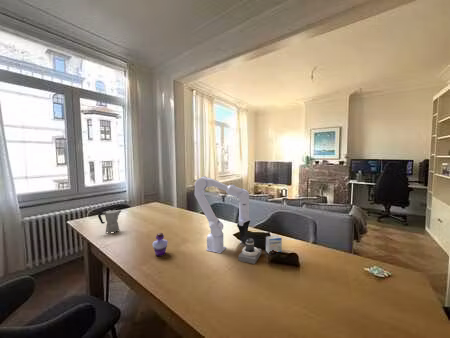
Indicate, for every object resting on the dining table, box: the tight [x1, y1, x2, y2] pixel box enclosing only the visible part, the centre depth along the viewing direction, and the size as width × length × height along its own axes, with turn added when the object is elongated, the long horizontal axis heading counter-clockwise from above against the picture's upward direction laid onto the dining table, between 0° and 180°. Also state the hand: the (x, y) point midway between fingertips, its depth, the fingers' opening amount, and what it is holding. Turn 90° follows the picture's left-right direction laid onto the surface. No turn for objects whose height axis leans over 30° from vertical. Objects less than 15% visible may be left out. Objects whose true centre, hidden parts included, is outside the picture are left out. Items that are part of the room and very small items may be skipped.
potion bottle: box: [151, 232, 169, 257], centre depth 118 cm, size 9×9×12 cm
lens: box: [245, 237, 255, 252], centre depth 114 cm, size 4×4×7 cm
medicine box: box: [265, 235, 283, 254], centre depth 120 cm, size 8×4×9 cm, turn 105°
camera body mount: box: [237, 246, 262, 265], centre depth 114 cm, size 9×13×4 cm
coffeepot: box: [97, 207, 122, 233], centre depth 154 cm, size 15×9×18 cm, turn 129°
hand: (244, 234), depth 121 cm, fingers open, 7 cm apart
